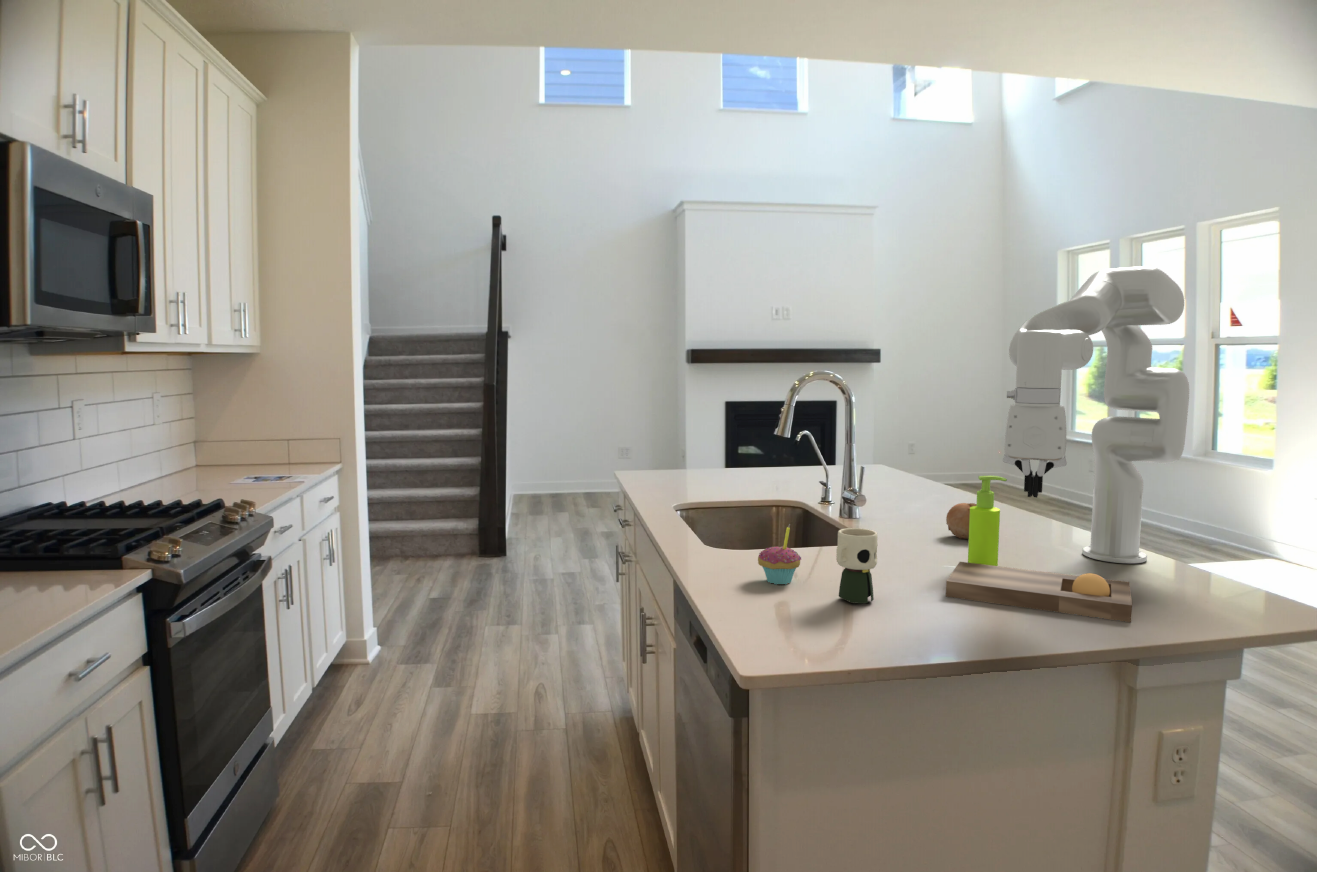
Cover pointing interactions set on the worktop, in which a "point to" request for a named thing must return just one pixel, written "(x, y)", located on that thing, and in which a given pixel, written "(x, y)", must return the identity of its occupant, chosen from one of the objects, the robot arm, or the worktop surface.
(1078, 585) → the ball
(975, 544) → the soap dispenser
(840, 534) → the character mug
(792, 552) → the cupcake
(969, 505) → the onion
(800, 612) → the worktop surface
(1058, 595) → the board
